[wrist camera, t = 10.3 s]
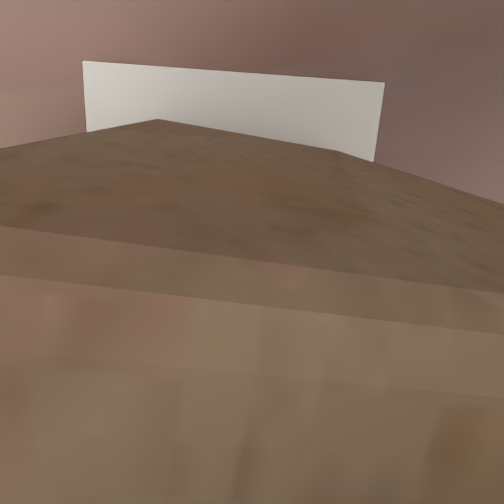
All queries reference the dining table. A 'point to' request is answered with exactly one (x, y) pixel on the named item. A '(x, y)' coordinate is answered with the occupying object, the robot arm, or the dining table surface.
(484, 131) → the dining table surface
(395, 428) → the wooden block
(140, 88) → the white square plate
